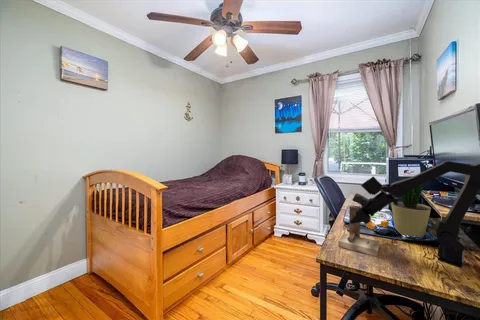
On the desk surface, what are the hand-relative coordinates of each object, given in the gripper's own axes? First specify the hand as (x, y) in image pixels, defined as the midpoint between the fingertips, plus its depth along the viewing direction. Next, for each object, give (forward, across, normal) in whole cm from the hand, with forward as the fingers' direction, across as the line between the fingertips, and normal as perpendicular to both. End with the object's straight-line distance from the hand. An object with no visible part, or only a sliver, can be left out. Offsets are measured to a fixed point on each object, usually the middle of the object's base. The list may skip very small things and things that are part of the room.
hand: (351, 221), depth 102 cm
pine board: (+3, +7, +9) cm, 12 cm away
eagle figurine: (-16, -19, +29) cm, 39 cm away
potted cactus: (-10, -22, +22) cm, 32 cm away
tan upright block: (+5, +4, +7) cm, 10 cm away
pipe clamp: (0, -20, +12) cm, 23 cm away
